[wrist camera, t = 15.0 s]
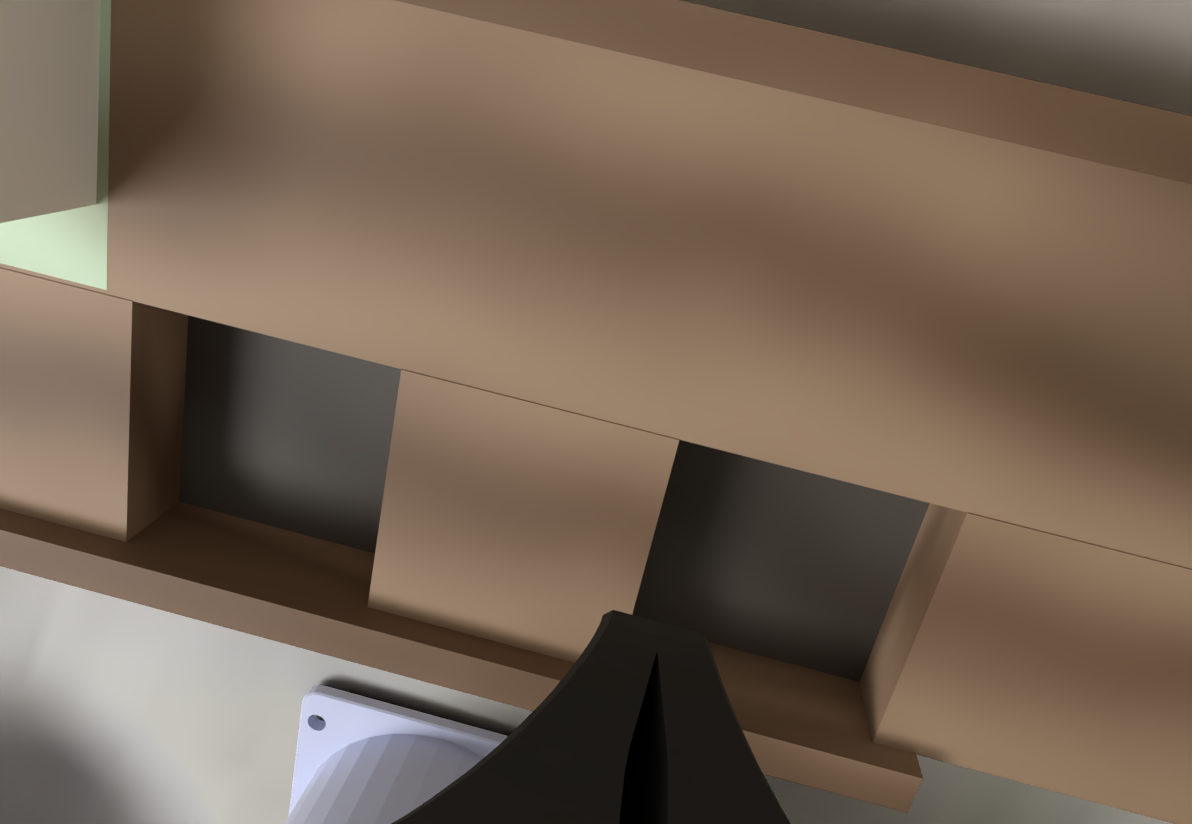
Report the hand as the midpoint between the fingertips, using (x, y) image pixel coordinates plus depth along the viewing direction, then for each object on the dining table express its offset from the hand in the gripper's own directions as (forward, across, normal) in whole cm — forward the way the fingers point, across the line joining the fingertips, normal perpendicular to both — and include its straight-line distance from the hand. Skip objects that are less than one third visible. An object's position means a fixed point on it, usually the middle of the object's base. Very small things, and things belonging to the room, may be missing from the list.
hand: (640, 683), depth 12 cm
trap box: (+10, +2, -1) cm, 10 cm away
